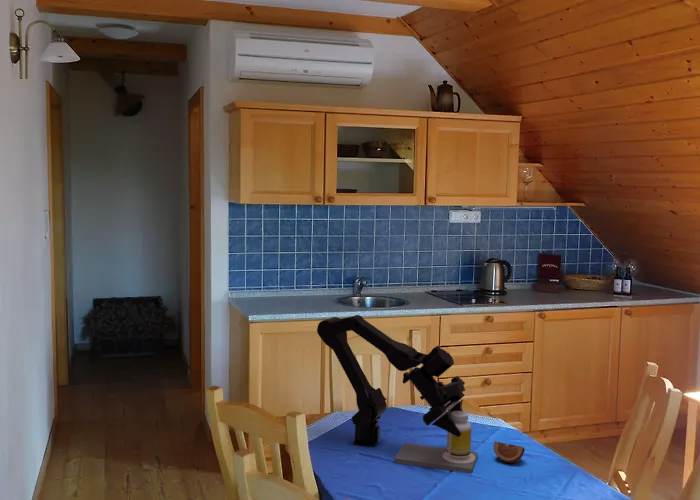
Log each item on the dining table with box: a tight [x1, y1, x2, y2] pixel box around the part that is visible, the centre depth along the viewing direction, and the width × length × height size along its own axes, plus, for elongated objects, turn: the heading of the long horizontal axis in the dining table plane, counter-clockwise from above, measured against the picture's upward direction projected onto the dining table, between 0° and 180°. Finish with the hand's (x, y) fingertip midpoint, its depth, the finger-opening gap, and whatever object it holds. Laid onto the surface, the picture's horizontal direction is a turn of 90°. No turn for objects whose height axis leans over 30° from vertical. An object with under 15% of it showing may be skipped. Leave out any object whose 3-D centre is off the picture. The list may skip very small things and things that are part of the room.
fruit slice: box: [493, 440, 525, 464], centre depth 199 cm, size 8×7×5 cm
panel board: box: [393, 442, 479, 474], centre depth 199 cm, size 21×12×1 cm, turn 72°
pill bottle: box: [446, 411, 472, 458], centre depth 198 cm, size 6×6×12 cm
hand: (463, 432), depth 197 cm, fingers closed on pill bottle, 6 cm apart
